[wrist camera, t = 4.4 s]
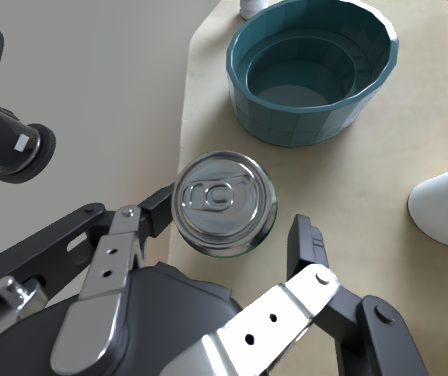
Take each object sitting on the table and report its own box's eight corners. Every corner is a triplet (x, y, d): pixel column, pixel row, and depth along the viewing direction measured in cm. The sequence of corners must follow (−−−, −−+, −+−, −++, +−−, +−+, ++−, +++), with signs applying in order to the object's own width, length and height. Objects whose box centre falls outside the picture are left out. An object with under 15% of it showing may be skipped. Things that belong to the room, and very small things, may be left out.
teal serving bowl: (211, 115, 23) (197, 76, 18) (272, 41, 25) (278, -16, 20) (317, 172, 19) (344, 142, 13) (381, 75, 21) (429, 13, 15)
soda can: (265, 249, 17) (286, 265, 6) (216, 246, 18) (153, 257, 7) (263, 200, 19) (277, 138, 7) (218, 200, 20) (169, 145, 8)
